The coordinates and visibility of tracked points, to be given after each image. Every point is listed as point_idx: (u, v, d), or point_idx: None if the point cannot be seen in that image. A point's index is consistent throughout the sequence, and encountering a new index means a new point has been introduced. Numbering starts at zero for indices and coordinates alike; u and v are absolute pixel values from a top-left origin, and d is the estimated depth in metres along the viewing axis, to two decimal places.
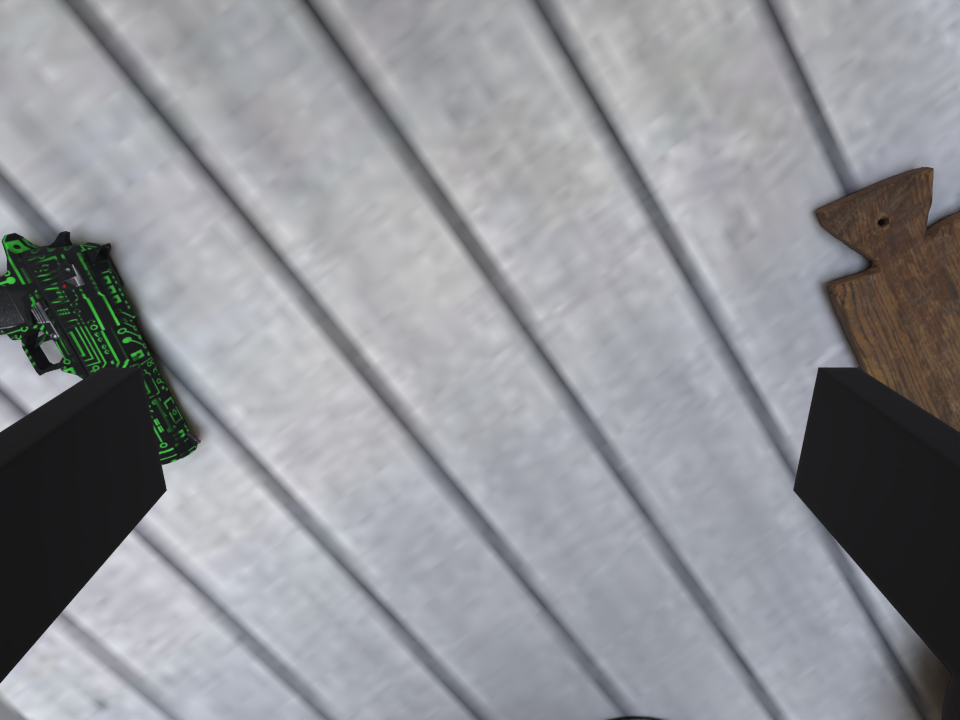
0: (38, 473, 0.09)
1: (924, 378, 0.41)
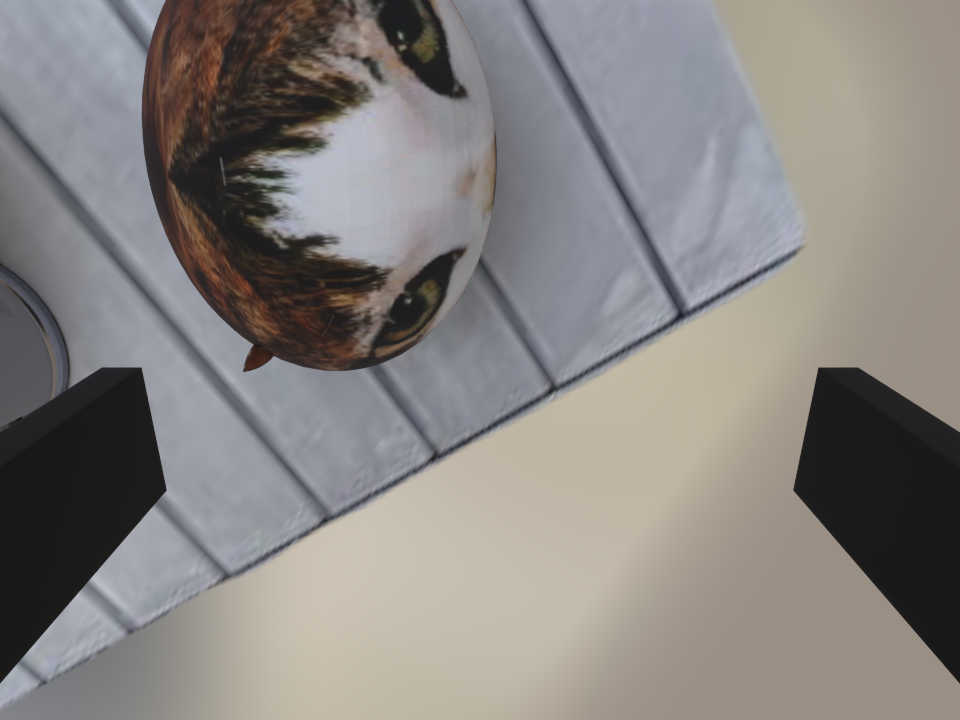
0: (38, 473, 0.09)
1: None
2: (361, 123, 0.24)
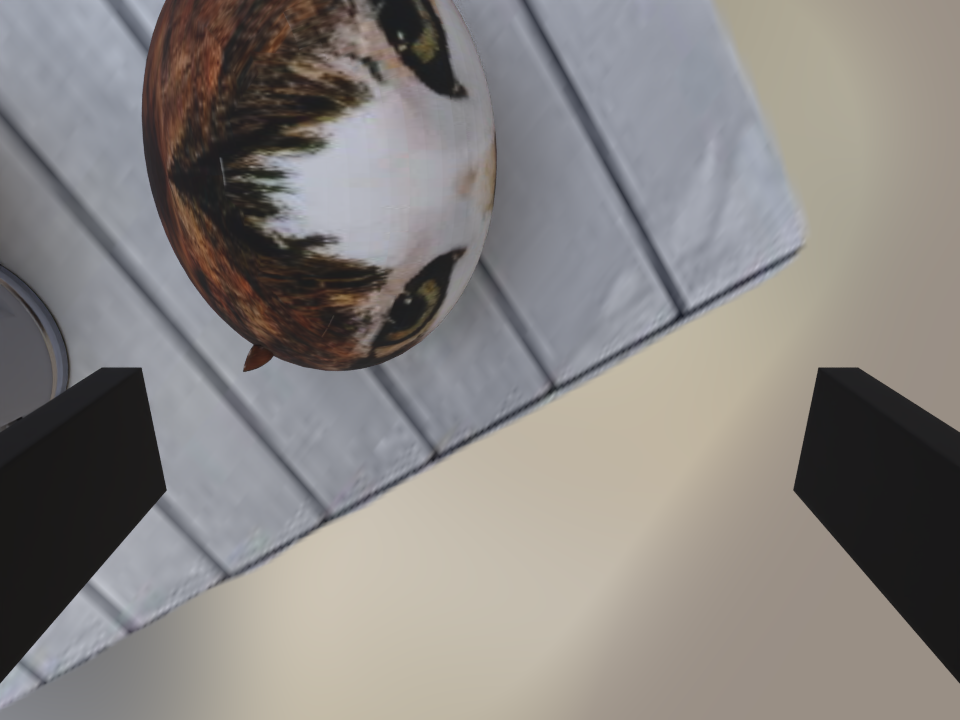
0: (38, 473, 0.09)
1: None
2: (361, 123, 0.24)
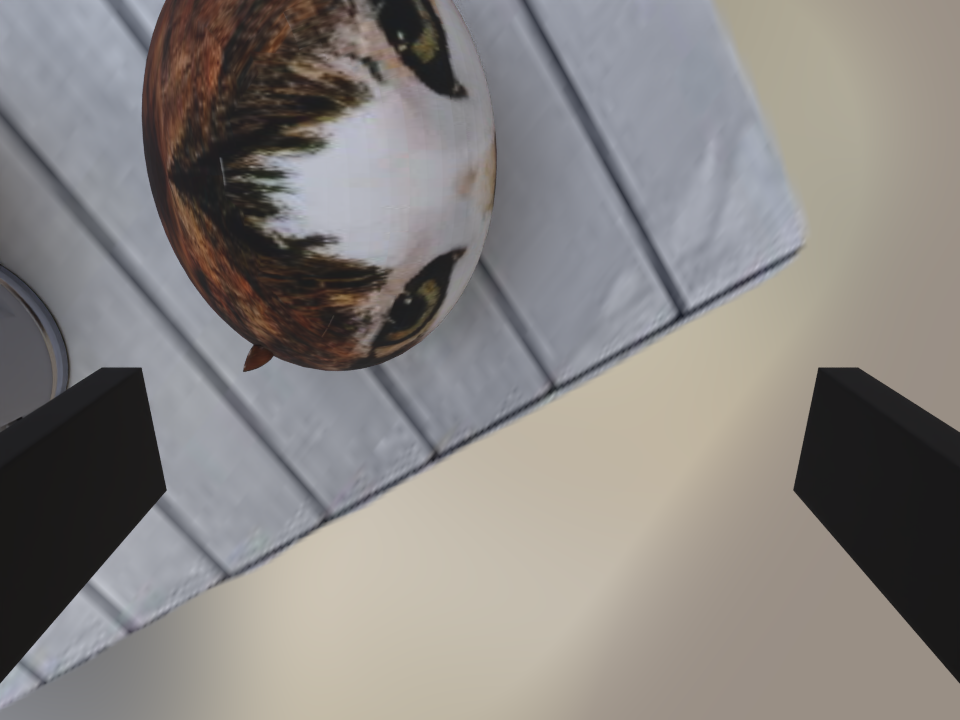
0: (38, 473, 0.09)
1: None
2: (361, 123, 0.24)
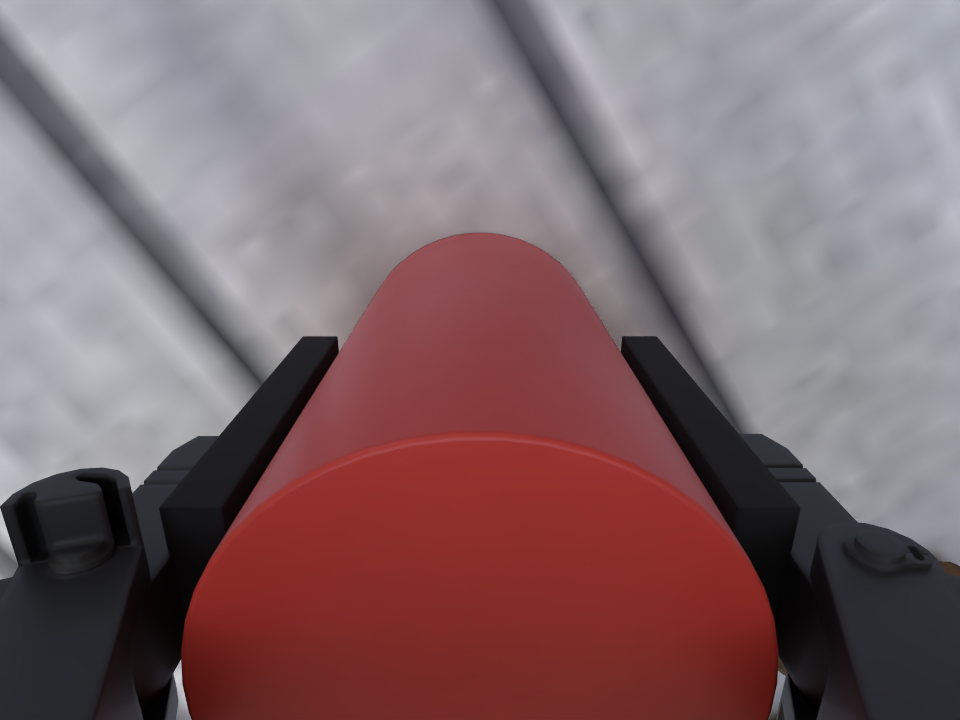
0: None
1: None
2: None
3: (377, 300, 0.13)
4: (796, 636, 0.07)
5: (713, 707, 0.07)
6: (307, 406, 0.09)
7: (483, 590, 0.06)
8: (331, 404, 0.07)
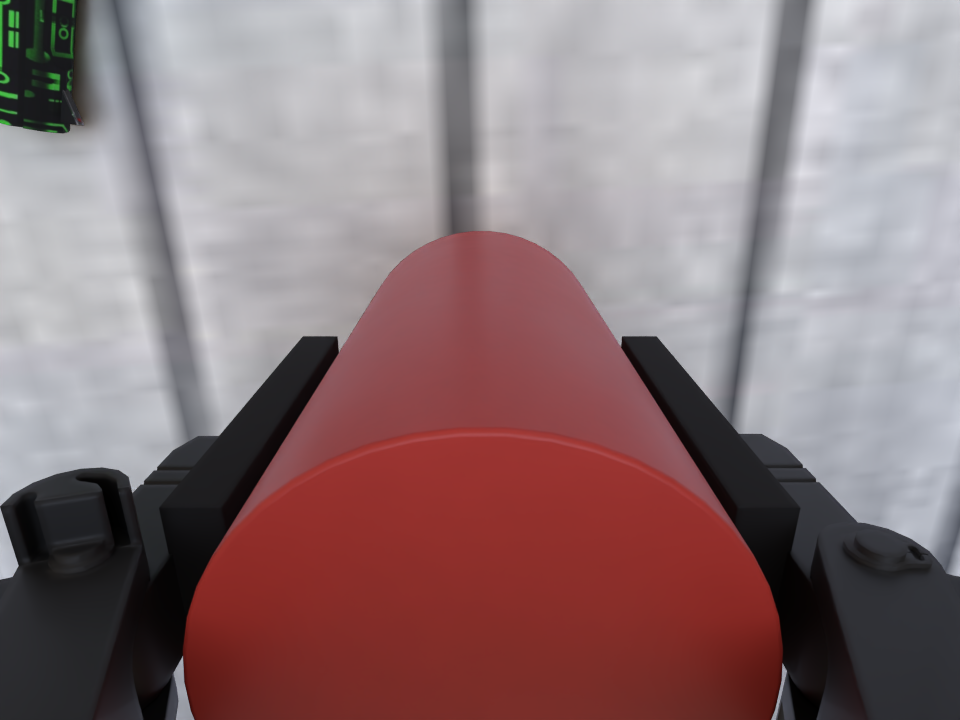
0: None
1: None
2: None
3: (379, 298, 0.13)
4: (796, 636, 0.07)
5: (717, 705, 0.07)
6: (309, 403, 0.08)
7: (487, 587, 0.06)
8: (333, 401, 0.07)
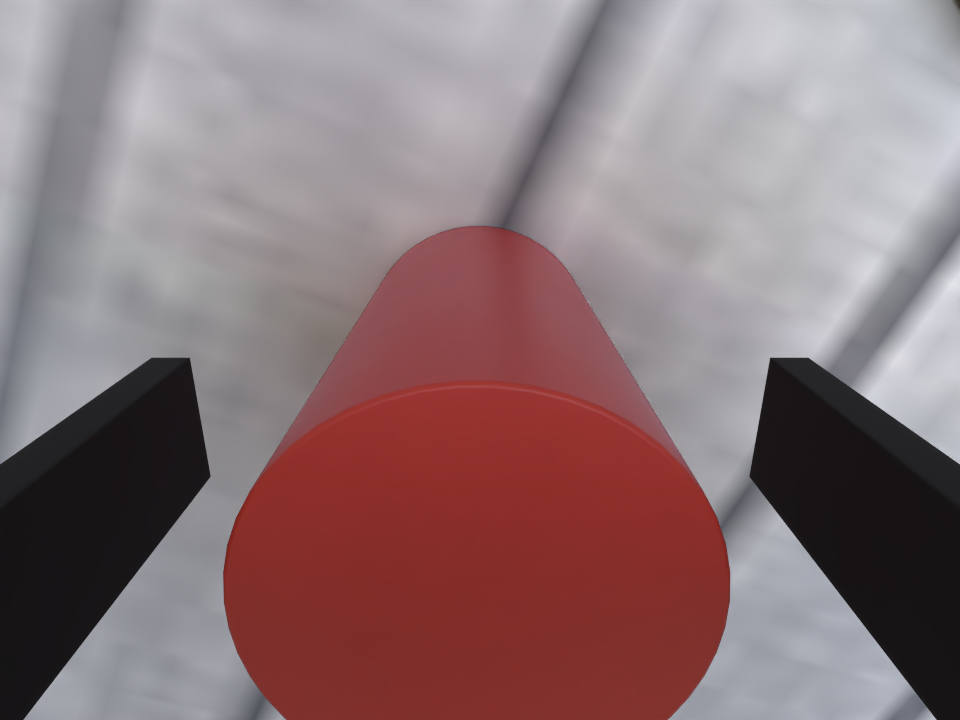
0: (106, 455, 0.10)
1: None
2: None
3: (384, 286, 0.14)
4: None
5: (676, 622, 0.08)
6: (325, 374, 0.10)
7: (480, 517, 0.07)
8: (348, 367, 0.08)
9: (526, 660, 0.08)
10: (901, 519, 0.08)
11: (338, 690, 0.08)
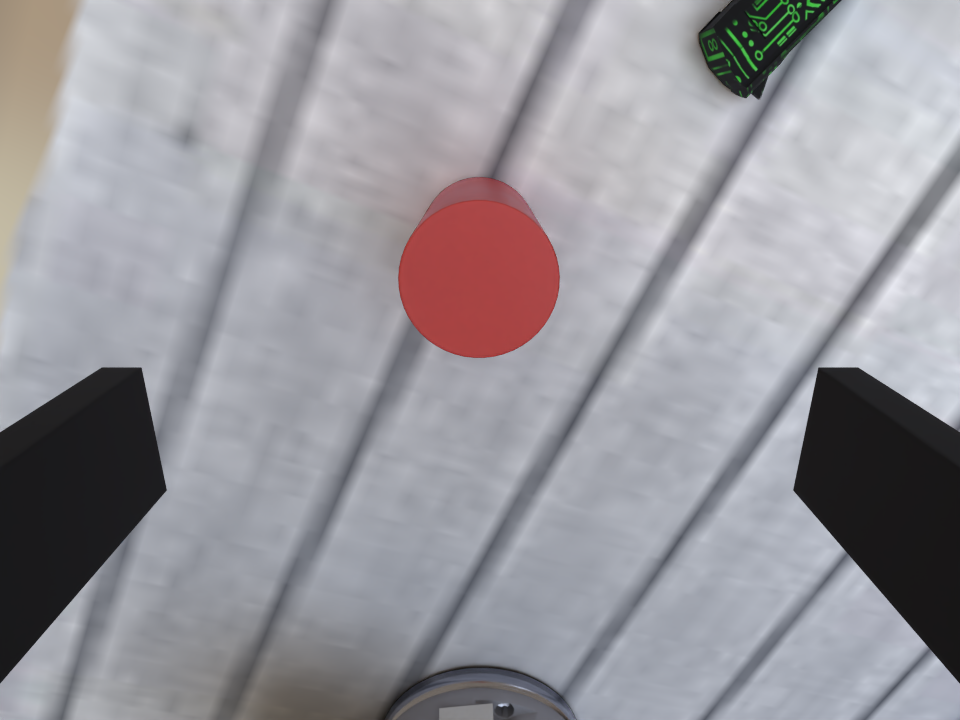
0: (38, 473, 0.09)
1: None
2: None
3: (436, 199, 0.30)
4: None
5: (542, 285, 0.24)
6: (422, 218, 0.26)
7: (480, 245, 0.23)
8: (435, 208, 0.25)
9: (495, 300, 0.24)
10: None
11: (433, 313, 0.24)
